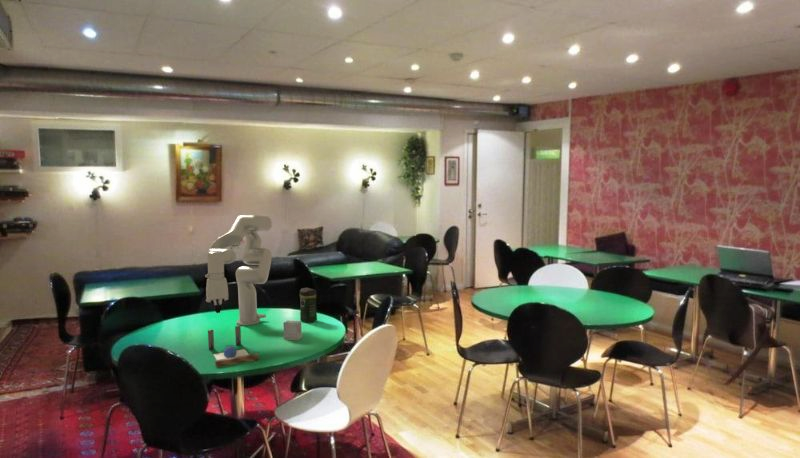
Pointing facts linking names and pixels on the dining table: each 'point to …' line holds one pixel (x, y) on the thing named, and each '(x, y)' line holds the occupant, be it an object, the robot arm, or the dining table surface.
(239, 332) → the post
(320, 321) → the dining table surface
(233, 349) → the ball
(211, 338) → the post
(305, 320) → the coffee jar
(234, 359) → the stopper wall
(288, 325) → the medicine box
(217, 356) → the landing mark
